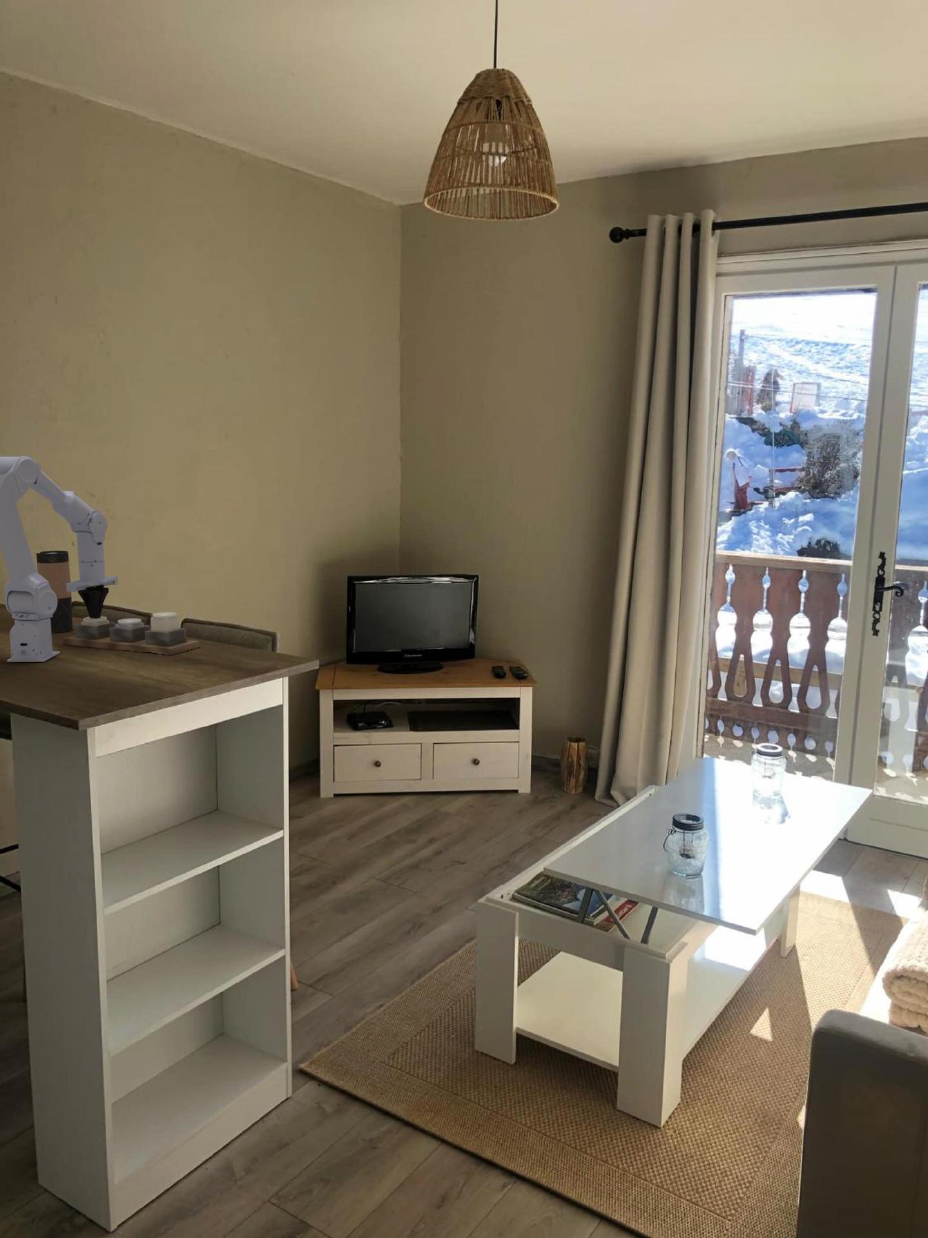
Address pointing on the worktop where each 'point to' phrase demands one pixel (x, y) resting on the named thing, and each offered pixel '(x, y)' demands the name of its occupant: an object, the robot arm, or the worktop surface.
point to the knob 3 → (165, 622)
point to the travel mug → (57, 586)
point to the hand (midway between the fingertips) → (95, 618)
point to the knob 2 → (129, 623)
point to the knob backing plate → (131, 639)
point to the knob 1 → (95, 621)
